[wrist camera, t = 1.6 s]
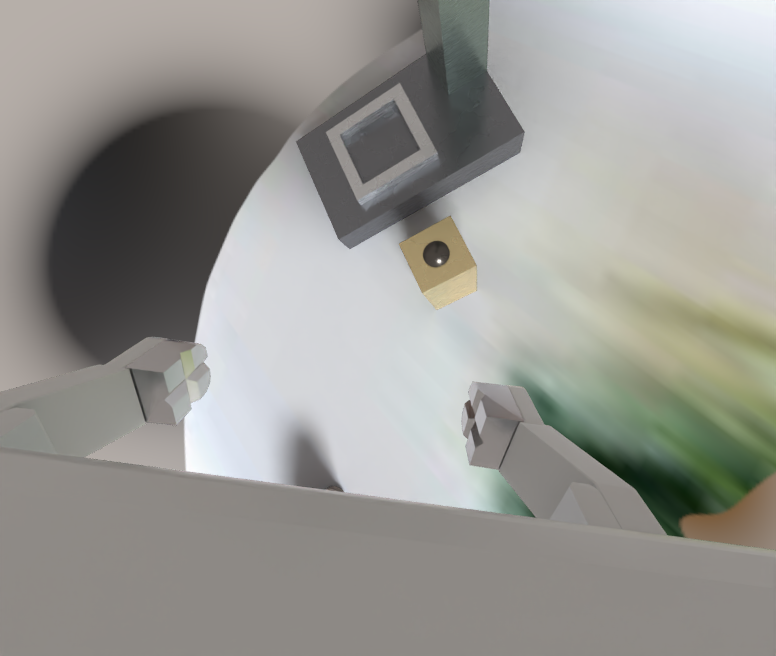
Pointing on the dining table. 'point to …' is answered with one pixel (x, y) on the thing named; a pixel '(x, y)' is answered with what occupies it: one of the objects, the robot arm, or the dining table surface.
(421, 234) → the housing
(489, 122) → the press
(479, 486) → the dining table surface
